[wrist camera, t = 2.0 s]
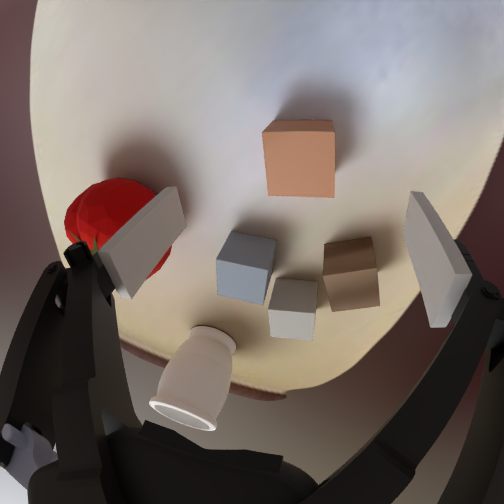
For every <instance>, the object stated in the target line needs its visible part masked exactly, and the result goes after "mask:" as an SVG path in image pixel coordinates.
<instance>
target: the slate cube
mask: <svg viewBox="0 0 504 504" xmlns="http://www.w3.org/2000/svg"><path fill="white" fill-rule="evenodd" d="M276 242H277V240H275V239H270V238H265V237H259V236H254V235H249V234H244V233H238V232H233V231H231V233H230V234H229V236H228V238H227V240H226V242H225V244H224V245H223V247H222V249H221V251H220V253H219V255H218V257H217V258H216V274H217V295H220V296H224V297H228V298H233V299H237V300H241V301H246V302H250V303H255V304H259V305H263V303H264V300H265V296H266V293H267V289H268V286H269V282H270V279H271V275H272V269H273V262H274V255H275V249H276Z"/></svg>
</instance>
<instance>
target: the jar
mask: <svg viewBox="0 0 504 504" xmlns="http://www.w3.org/2000/svg"><path fill="white" fill-rule="evenodd" d="M235 350H236V344H235V342H234V341H233V339H232V338H231V337H230V336H228V335H227V334H226V333H224V332H222V331H220V330H218V329H215V328H212V327H207V326H197V327H194V328H192V329H191V330H190V332H189V339H188V340H186V341H185V342H184V343H183V344H182V345H181V346H180V347H179V349H178V350H177V351H176V353H175V355H174V356H173V357H172V358H171V360H170V361H169V363H168V364H167V366H166V368H165V369H164V372H163V374H162V376H161V379H160V382H159V385H158V390H157V396H154V397H152V398H151V400H150V402H149V404H150V406H151V407H152V408H153V409H155V410H156V411H157V412H159V413H161V414H162V415H164V416H166V417H168V418H170V419H172V420H174V421H176V422H178V423H181V424H183V425H186V426H189V427H193V428H196V429H202V430H207V431H213V430H215V429H216V426H217V422H216V420H215V418H216V417H217V416H218V414H219V413H220V411H221V409H222V407H223V405H224V403H225V401H226V398H227V395H228V391H229V387H230V380H231V373H232V356H231V355H232V354H233V353H234V352H235Z"/></svg>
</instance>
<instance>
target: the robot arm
mask: <svg viewBox="0 0 504 504" xmlns="http://www.w3.org/2000/svg"><path fill="white" fill-rule="evenodd" d="M185 227H186V222H185V218H184V214H183V210H182V206H181V202H180V198H179V194H178V190H177V187H166V188H165V189H163V190H162V191H161V192H160V193H159V194H158V195H156V196H155V197H154V198H153V199H152V200H151V201H150V202H148V203H147V204H146V205H145V206H144V207H143V208H142V209H141V210H140V211H138V212H137V213H136V214H135V215H134V216H133V217H132V218H131V219H130V220H129V221H128V222H127V223H126V224H125V225H124V226H122V227H121V228H120V229H119V230H118V231H117V232H116V233H115V234H114V235H113V236H112V237H111V238H110V239H109V240H108V241H107V242H106V243H105V244H104V245H103V246H102V247H101V248H100V249H99V250H98V251H97V252H96V253H95V254H94V255H93V256H92V253H91V251H90V249H89V247H88V245H87V243H86V241H79V242H76V243H74V244H72V245H71V246H69V247H68V248H67V249H66V250H65V252H64V256H65V258H66V260H67V262H68V264H69V265H70V267H71V268H66V269H65V267H64V266H63V264H62V262H61V261H56V262H53V263H51V264H49V265H48V267H46V269H45V270H44V271H43V273H42V275H41V277H40V279H39V281H38V283H37V285H36V286H35V288H34V291H33V292H32V295H31V297H30V299H29V301H28V303H27V305H26V307H25V310H24V312H23V314H22V316H21V319H20V321H19V323H18V326H17V328H16V331H15V333H14V336H13V339H12V341H11V344H10V347H9V349H8V352H7V355H6V358H5V361H4V364H3V368H2V371H1V374H0V468H1V469H3V470H5V471H7V472H8V473H9V474H10V475H11V476H13V477H14V478H15V479H16V480H17V481H18V482H19V483H20V484H21V485H22V486H23V487H25V488H26V489H27V490H28V502H29V503H28V504H391V503H392V502H393V501H394V500H395V499H396V498H397V497H398V496H399V495H400V493H401V492H402V491H403V490H404V489H405V488H406V487H407V486H408V484H409V483H410V482H411V480H412V479H413V477H414V475H415V469H416V467H417V465H418V464H419V463H420V461H421V460H422V459H423V457H424V456H425V455H426V453H427V452H428V451H429V449H430V448H431V447H432V445H433V444H434V442H435V441H436V440H437V438H438V437H439V435H440V434H441V432H442V431H443V429H444V428H445V426H446V424H447V423H448V421H449V420H450V418H451V416H452V415H453V413H454V411H455V409H456V407H457V406H458V404H459V402H460V401H461V399H462V397H463V395H464V393H465V391H466V390H467V387H468V386H469V384H470V382H471V380H472V377H473V375H474V373H475V371H476V369H477V366H478V364H479V362H480V360H481V358H482V355H483V353H484V350H485V347H487V350H486V357H485V364H484V370H483V375H482V380H481V386H480V390H479V395H478V399H477V403H476V407H475V410H474V415H473V418H472V422H471V425H470V428H469V431H468V434H467V437H466V440H465V443H464V446H463V448H462V451H461V453H460V456H459V459H458V461H457V463H456V466H455V468H454V471H453V473H452V475H451V477H450V479H449V481H448V484H447V486H446V488H445V490H444V492H443V494H442V496H441V497H440V499H439V501H438V503H437V504H504V298H503V297H502V295H501V292H500V290H499V289H498V288H497V286H495V285H494V284H493V283H492V282H489V281H487V280H484V278H483V277H482V275H481V273H480V271H479V269H478V267H477V265H476V263H475V262H474V260H473V258H472V256H470V252H469V251H468V249H467V247H466V246H465V245H464V244H463V243H462V242H461V241H459V240H454V239H453V238H452V236H451V235H450V233H449V231H448V230H447V228H446V226H445V225H444V223H443V222H442V220H441V218H440V217H439V215H438V214H437V212H436V211H435V209H434V208H433V206H432V205H431V203H430V202H429V200H428V199H427V197H426V196H425V195H424V193H423V192H415V191H410V196H409V203H408V209H407V214H406V220H405V225H404V230H403V234H402V236H403V238H404V241H405V244H406V247H407V249H408V252H409V255H410V258H411V261H412V264H413V267H414V270H415V273H416V276H417V279H418V282H419V286H420V289H421V293H422V296H423V300H424V303H425V307H426V311H427V315H428V319H429V323H430V327H446V326H447V324H448V323H449V321H450V319H451V317H452V320H453V323H454V326H453V328H452V329H451V331H450V333H449V334H448V336H447V338H446V339H445V341H444V343H443V345H442V346H441V348H440V350H439V351H438V353H437V354H436V356H435V358H434V359H433V361H432V362H431V364H430V365H429V367H428V368H427V370H426V371H425V373H424V374H423V375H422V377H421V378H420V380H419V381H418V382H417V384H416V385H415V386H414V388H413V389H412V391H411V392H410V393H409V394H408V396H407V397H406V398H405V400H404V401H403V402H402V404H401V405H400V406H399V407H398V408H397V410H396V411H395V412H394V413H393V414H392V415H391V417H390V418H389V419H388V420H387V421H386V422H385V424H384V425H383V426H382V427H381V428H380V429H379V430H378V431H377V432H376V433H375V434H374V435H373V436H372V438H371V439H370V440H369V441H368V442H367V443H366V444H365V445H364V446H363V447H362V448H361V449H360V450H359V451H358V452H357V453H356V454H355V455H353V456H352V457H351V458H350V459H349V460H348V461H347V462H346V463H345V464H344V465H342V466H341V467H340V468H339V469H338V470H336V471H335V472H334V473H333V474H332V475H330V476H329V477H328V478H327V479H326V480H324V481H323V482H322V483H321V484H319V485H318V484H317V483H316V482H315V480H314V479H313V478H312V477H310V476H309V475H308V474H307V473H305V472H304V471H303V470H301V469H300V468H298V467H296V466H294V465H292V464H290V463H287V462H285V461H283V456H281V455H274V454H267V453H261V452H256V451H250V450H211V449H204V448H202V447H200V446H198V445H197V444H195V443H193V442H192V441H190V440H188V439H187V438H185V437H184V436H182V435H180V434H178V433H177V432H176V431H174V430H171V429H168V428H166V427H163V426H160V425H157V424H155V423H152V422H149V421H147V420H145V422H144V424H143V426H142V424H141V422H140V421H139V420H138V418H137V416H136V414H135V412H134V408H133V405H132V401H131V396H130V392H129V388H128V383H127V379H126V374H125V369H124V364H123V358H122V353H121V346H120V340H119V333H118V326H117V319H116V310H115V300H114V297H113V295H112V292H113V290H114V289H116V291H117V293H118V294H119V296H120V297H121V298H126V299H132V298H133V297H134V295H135V294H136V292H137V291H138V290H139V288H140V287H141V285H142V284H143V283H144V281H145V280H146V278H147V277H148V276H149V274H150V273H151V272H152V270H153V269H154V268H155V266H156V265H157V264H158V262H159V261H160V260H161V258H162V257H163V256H164V254H165V253H166V252H167V250H168V249H169V248H170V247H171V245H172V244H173V243H174V241H175V240H176V239H177V238H178V236H179V235H180V234H181V232H182V231H183V230H184V229H185ZM55 298H57V299H58V301H59V302H60V304H61V305H60V307H58V306H57V305H56V303H55ZM55 442H56V450H57V453H56V452H55V451H53V449H54V446H55Z"/></svg>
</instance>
